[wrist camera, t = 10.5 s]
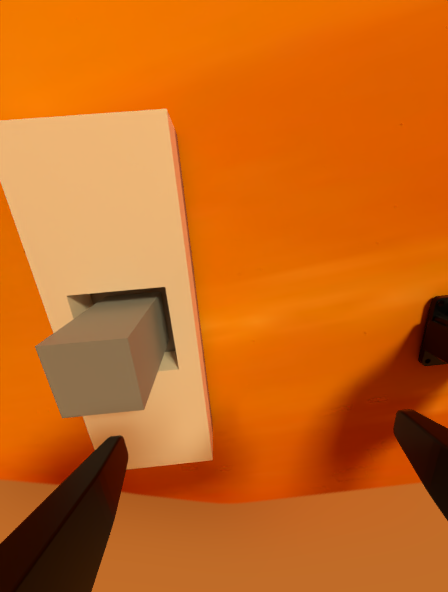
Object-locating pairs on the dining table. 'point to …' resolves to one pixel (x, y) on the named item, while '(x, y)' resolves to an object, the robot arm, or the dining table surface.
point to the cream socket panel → (115, 255)
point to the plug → (107, 355)
